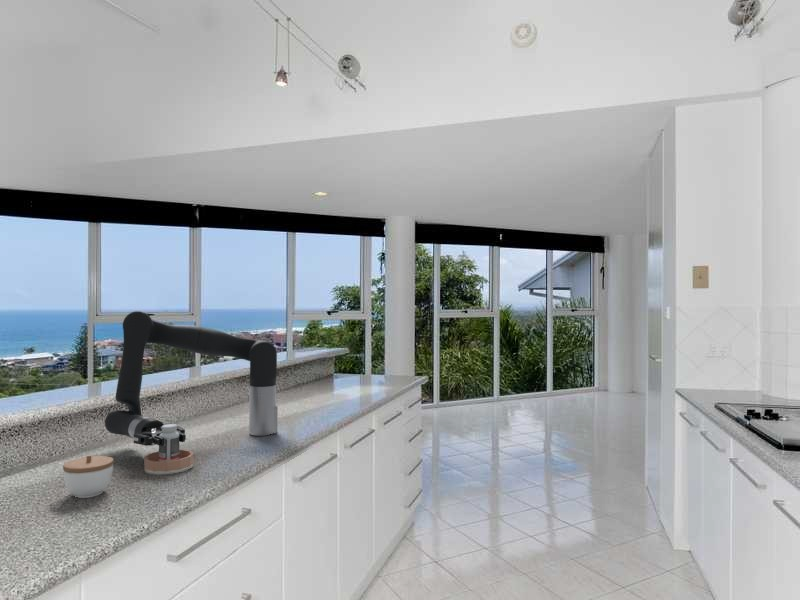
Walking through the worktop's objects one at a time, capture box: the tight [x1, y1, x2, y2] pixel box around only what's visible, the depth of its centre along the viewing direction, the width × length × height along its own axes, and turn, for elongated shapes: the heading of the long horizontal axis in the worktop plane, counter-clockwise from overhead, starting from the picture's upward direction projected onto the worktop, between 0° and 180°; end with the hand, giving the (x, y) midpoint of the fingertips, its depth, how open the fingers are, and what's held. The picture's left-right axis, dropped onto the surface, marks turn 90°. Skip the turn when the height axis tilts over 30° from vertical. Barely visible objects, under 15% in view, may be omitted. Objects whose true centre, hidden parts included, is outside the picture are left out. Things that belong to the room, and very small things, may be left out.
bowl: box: [143, 448, 195, 476], centre depth 153 cm, size 13×13×4 cm
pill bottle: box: [158, 423, 180, 461], centre depth 153 cm, size 5×5×10 cm
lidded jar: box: [62, 454, 115, 499], centre depth 132 cm, size 11×11×9 cm
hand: (173, 440), depth 151 cm, fingers closed on pill bottle, 5 cm apart
